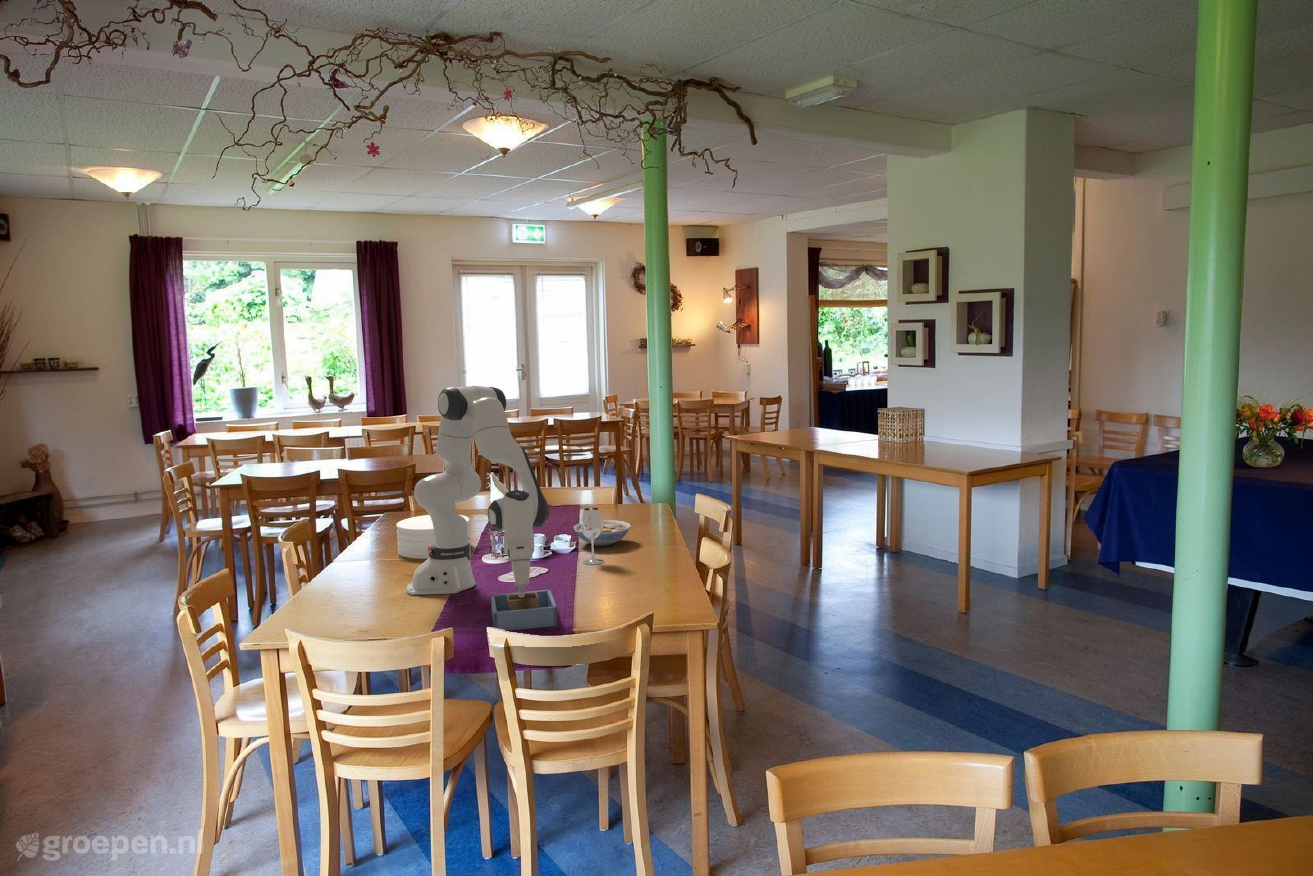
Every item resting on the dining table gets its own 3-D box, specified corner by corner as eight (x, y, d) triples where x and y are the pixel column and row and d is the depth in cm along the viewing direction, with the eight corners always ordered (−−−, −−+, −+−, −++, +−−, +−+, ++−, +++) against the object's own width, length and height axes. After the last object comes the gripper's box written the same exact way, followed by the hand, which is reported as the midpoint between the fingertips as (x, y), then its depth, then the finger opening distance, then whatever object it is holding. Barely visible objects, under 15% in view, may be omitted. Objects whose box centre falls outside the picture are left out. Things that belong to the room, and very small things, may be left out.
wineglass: (604, 559, 324) (602, 506, 321) (603, 564, 316) (601, 510, 314) (583, 559, 323) (581, 507, 321) (582, 565, 316) (580, 511, 313)
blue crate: (494, 632, 247) (493, 613, 246) (491, 612, 265) (490, 595, 264) (557, 625, 251) (556, 607, 250) (550, 607, 269) (549, 589, 268)
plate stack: (479, 541, 358) (478, 513, 357) (457, 558, 331) (456, 529, 329) (413, 541, 361) (412, 514, 360) (386, 558, 333) (384, 529, 332)
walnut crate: (508, 621, 254) (507, 601, 253) (507, 614, 260) (506, 595, 259) (539, 618, 256) (538, 598, 255) (537, 611, 262) (536, 592, 261)
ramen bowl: (629, 551, 334) (629, 530, 333) (570, 552, 334) (569, 532, 333) (632, 536, 359) (632, 516, 358) (577, 537, 359) (576, 518, 358)
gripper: (506, 538, 264) (507, 582, 266) (510, 556, 245) (511, 603, 247) (527, 537, 266) (528, 581, 268) (532, 554, 246) (534, 601, 248)
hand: (520, 592), depth 257 cm, fingers open, 8 cm apart
